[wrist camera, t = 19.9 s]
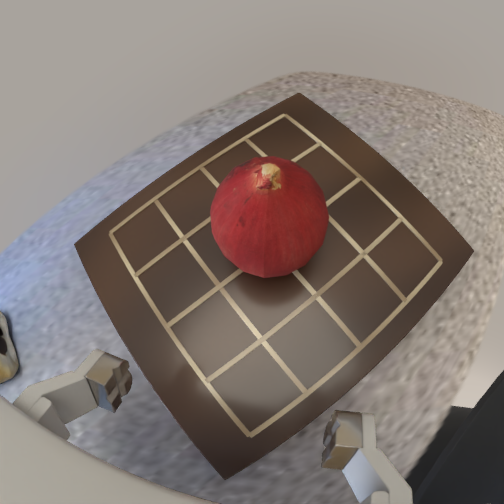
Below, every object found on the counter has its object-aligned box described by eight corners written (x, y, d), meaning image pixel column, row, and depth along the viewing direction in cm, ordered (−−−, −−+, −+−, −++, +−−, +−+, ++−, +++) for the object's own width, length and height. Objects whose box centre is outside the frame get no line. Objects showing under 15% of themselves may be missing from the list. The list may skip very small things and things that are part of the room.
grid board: (464, 258, 19) (475, 250, 17) (228, 472, 15) (224, 481, 14) (298, 104, 25) (299, 91, 24) (83, 251, 22) (72, 243, 20)
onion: (208, 228, 20) (171, 147, 12) (287, 189, 20) (290, 97, 13) (250, 309, 17) (229, 264, 10) (336, 263, 18) (372, 191, 11)
